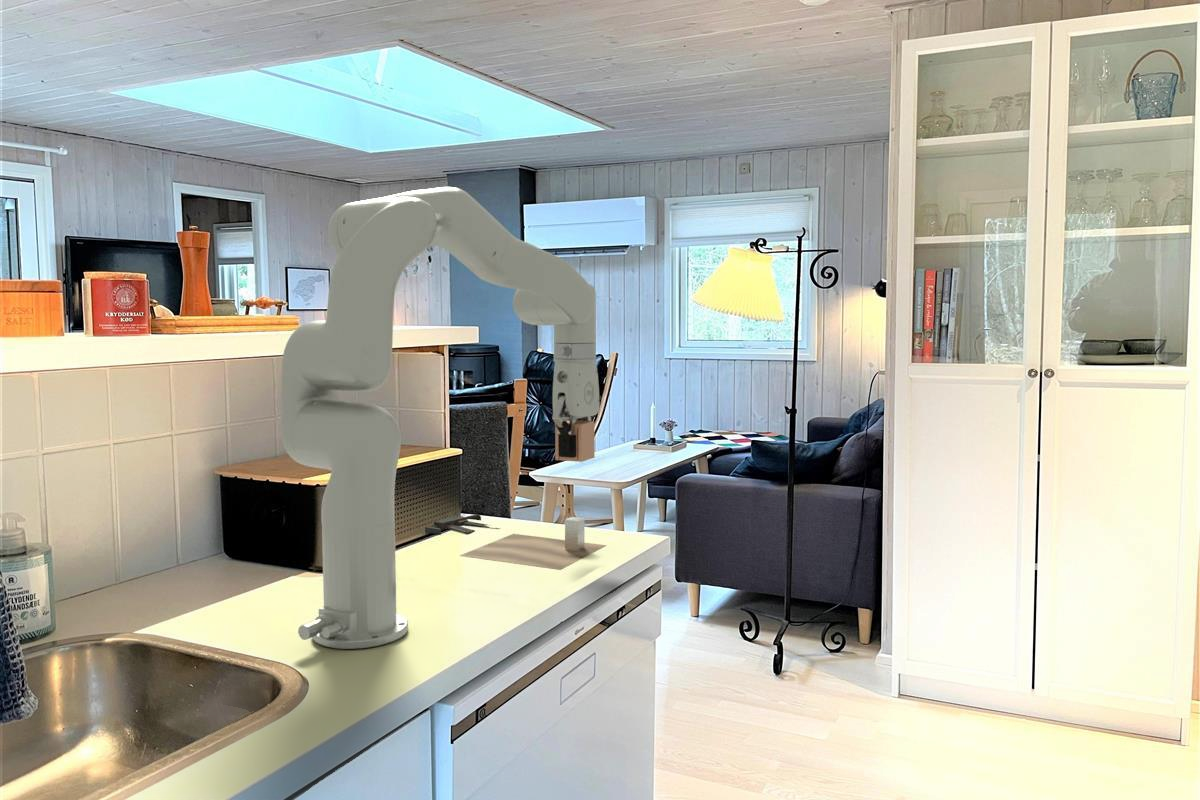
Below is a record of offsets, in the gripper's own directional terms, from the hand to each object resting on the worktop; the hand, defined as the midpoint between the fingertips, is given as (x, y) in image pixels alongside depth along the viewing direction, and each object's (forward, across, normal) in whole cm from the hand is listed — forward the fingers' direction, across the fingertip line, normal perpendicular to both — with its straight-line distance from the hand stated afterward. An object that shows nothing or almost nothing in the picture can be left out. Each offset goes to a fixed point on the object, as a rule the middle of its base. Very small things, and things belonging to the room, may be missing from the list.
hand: (575, 453), depth 159 cm
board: (+19, -4, +6) cm, 20 cm away
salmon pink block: (+1, 0, 0) cm, 1 cm away
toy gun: (+20, +8, +28) cm, 35 cm away
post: (+19, 0, 0) cm, 19 cm away
